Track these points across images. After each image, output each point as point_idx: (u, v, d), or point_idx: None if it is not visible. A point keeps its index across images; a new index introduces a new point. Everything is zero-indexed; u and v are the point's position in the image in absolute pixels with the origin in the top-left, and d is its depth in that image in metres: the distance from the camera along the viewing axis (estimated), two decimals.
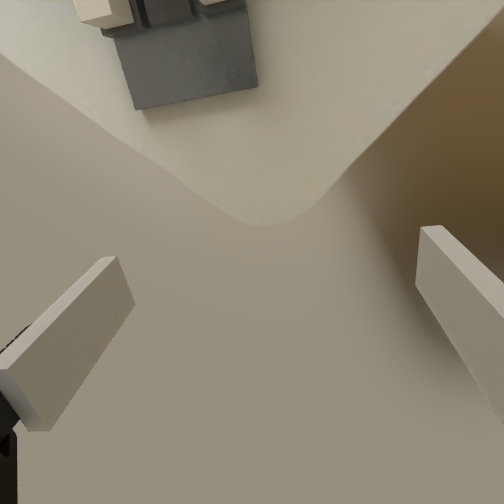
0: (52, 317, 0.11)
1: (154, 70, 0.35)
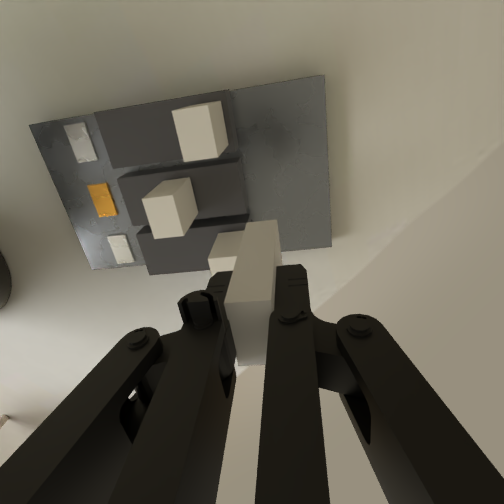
0: (248, 265, 0.12)
1: (291, 216, 0.29)
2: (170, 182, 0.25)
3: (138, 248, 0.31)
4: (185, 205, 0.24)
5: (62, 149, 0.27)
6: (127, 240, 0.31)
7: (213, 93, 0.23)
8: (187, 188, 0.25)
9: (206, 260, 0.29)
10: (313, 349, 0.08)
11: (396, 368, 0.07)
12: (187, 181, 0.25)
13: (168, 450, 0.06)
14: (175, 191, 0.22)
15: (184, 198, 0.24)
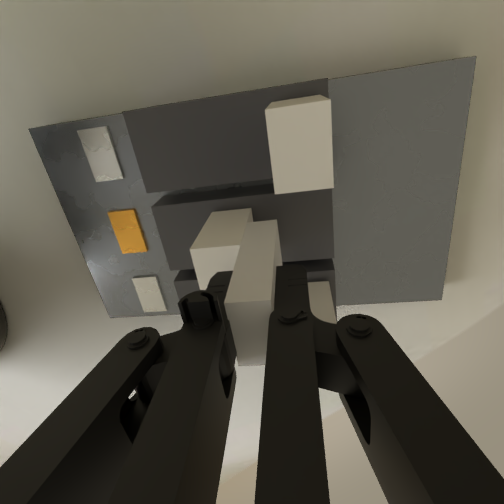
0: (248, 265, 0.12)
1: (389, 259, 0.20)
2: (224, 216, 0.17)
3: (173, 294, 0.24)
4: None
5: (74, 162, 0.20)
6: (158, 283, 0.23)
7: (308, 83, 0.15)
8: None
9: None
10: (313, 349, 0.08)
11: (396, 368, 0.07)
12: (249, 215, 0.17)
13: (168, 450, 0.06)
14: (240, 236, 0.14)
15: None
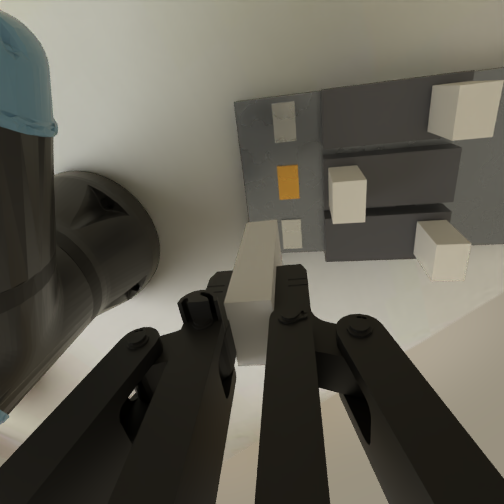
0: (248, 266, 0.12)
1: (487, 208, 0.28)
2: (340, 169, 0.25)
3: (310, 234, 0.31)
4: None
5: (261, 128, 0.27)
6: (301, 225, 0.31)
7: (460, 73, 0.22)
8: None
9: (392, 249, 0.28)
10: (313, 349, 0.08)
11: (396, 368, 0.07)
12: (358, 168, 0.25)
13: (168, 450, 0.06)
14: (363, 176, 0.22)
15: None
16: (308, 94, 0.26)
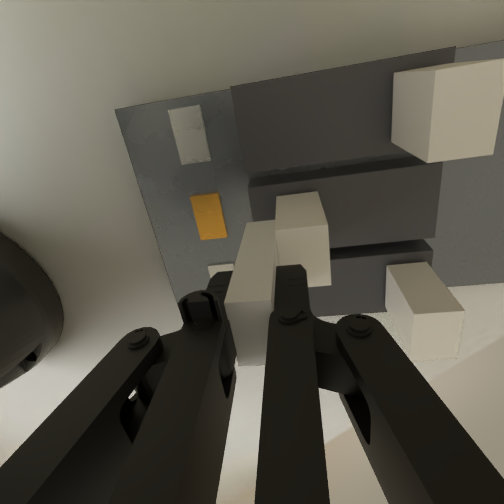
0: (248, 266, 0.12)
1: (481, 239, 0.20)
2: (293, 199, 0.17)
3: None
4: None
5: (159, 145, 0.19)
6: None
7: (434, 52, 0.14)
8: None
9: (356, 301, 0.21)
10: (313, 349, 0.08)
11: (396, 368, 0.07)
12: None
13: (168, 450, 0.06)
14: (323, 217, 0.14)
15: None
16: (218, 93, 0.17)
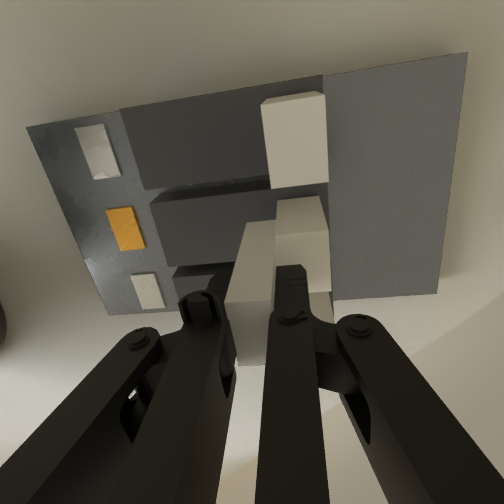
0: (248, 265, 0.12)
1: (385, 253, 0.21)
2: (294, 204, 0.17)
3: (171, 290, 0.24)
4: None
5: (72, 160, 0.20)
6: (157, 280, 0.23)
7: (303, 80, 0.15)
8: None
9: None
10: (313, 349, 0.08)
11: (396, 368, 0.07)
12: None
13: (168, 450, 0.06)
14: (324, 222, 0.14)
15: None
16: None
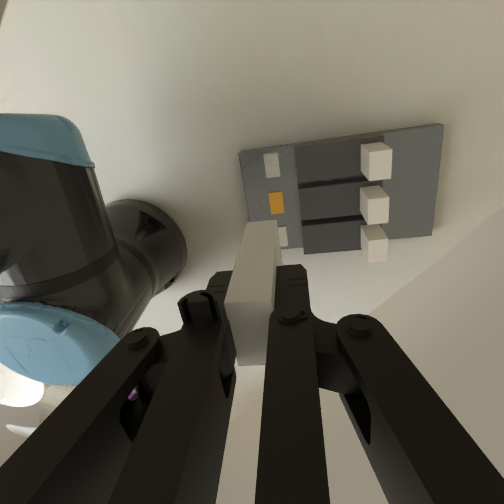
0: (248, 265, 0.12)
1: (406, 214, 0.42)
2: (369, 188, 0.38)
3: (293, 236, 0.45)
4: None
5: (257, 169, 0.41)
6: (286, 230, 0.45)
7: (376, 137, 0.36)
8: None
9: (346, 244, 0.43)
10: (313, 349, 0.08)
11: (396, 368, 0.07)
12: (380, 188, 0.38)
13: (168, 450, 0.06)
14: (386, 194, 0.36)
15: None
16: (286, 147, 0.40)
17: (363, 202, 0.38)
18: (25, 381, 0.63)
